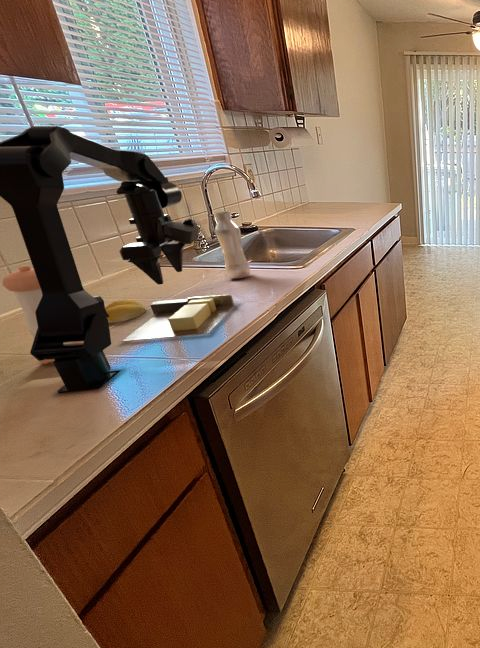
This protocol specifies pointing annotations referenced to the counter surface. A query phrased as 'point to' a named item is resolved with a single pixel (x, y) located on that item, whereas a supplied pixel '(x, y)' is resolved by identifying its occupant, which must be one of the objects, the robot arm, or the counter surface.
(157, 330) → the board
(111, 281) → the counter surface
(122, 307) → the bread roll
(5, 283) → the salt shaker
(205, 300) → the butter slice
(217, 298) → the knife
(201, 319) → the butter stick
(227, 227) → the plastic bottle
